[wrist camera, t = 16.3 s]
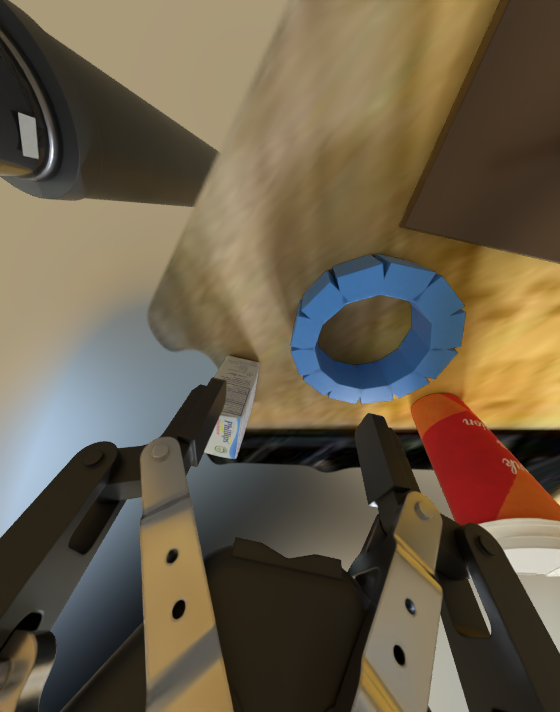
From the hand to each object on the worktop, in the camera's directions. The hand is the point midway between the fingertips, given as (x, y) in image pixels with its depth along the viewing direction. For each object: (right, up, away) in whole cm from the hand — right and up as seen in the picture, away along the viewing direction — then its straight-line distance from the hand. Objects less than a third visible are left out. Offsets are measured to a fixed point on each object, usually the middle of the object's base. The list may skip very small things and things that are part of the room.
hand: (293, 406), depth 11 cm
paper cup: (+19, -4, +14) cm, 24 cm away
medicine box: (-6, 0, +16) cm, 17 cm away
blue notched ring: (+8, +6, +9) cm, 13 cm away
